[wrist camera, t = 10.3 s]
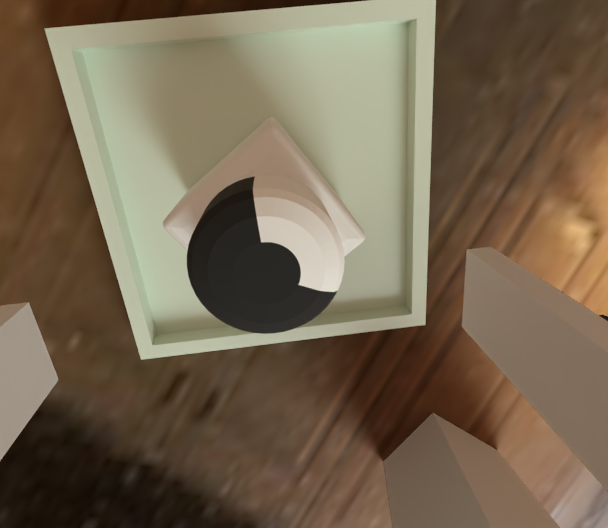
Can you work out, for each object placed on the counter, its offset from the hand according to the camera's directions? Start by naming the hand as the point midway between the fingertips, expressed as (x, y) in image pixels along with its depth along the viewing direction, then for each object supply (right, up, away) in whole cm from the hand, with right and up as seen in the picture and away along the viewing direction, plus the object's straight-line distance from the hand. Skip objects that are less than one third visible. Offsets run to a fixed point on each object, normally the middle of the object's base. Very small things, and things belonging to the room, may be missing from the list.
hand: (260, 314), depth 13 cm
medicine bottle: (-1, +6, +14) cm, 15 cm away
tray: (-1, +6, +14) cm, 15 cm away
